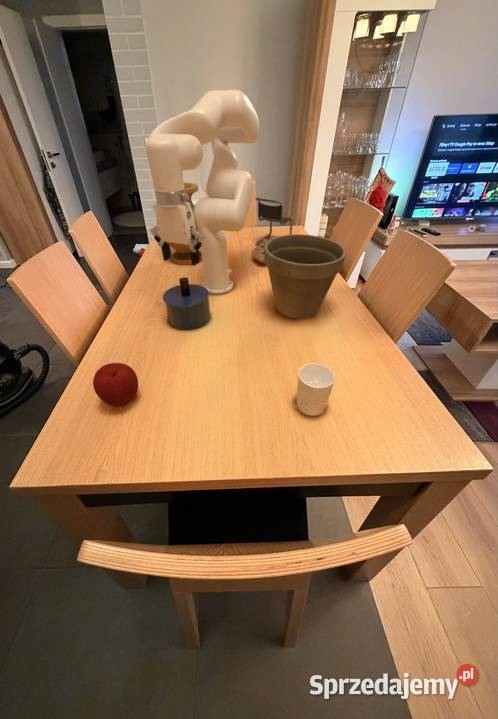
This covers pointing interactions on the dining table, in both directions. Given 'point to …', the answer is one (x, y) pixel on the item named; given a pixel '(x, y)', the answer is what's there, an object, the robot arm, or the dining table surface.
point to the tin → (189, 316)
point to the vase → (183, 250)
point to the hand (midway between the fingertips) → (181, 261)
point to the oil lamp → (260, 252)
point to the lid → (185, 295)
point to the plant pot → (302, 272)
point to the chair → (272, 214)
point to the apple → (116, 384)
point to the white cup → (314, 388)
